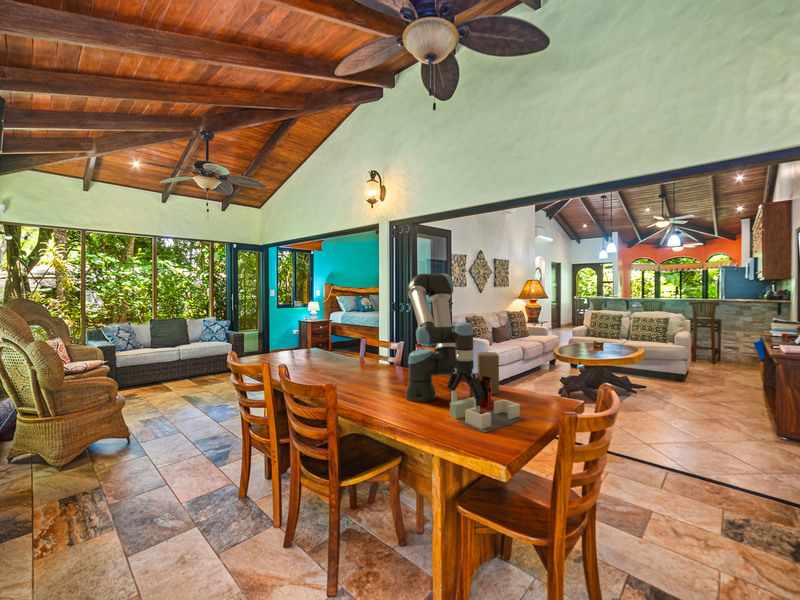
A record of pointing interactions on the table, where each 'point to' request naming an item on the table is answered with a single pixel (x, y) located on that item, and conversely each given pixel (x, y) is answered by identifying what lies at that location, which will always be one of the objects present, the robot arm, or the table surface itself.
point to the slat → (461, 407)
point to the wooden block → (489, 368)
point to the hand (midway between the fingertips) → (465, 409)
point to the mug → (486, 388)
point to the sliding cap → (507, 408)
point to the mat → (496, 422)
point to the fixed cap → (477, 418)
